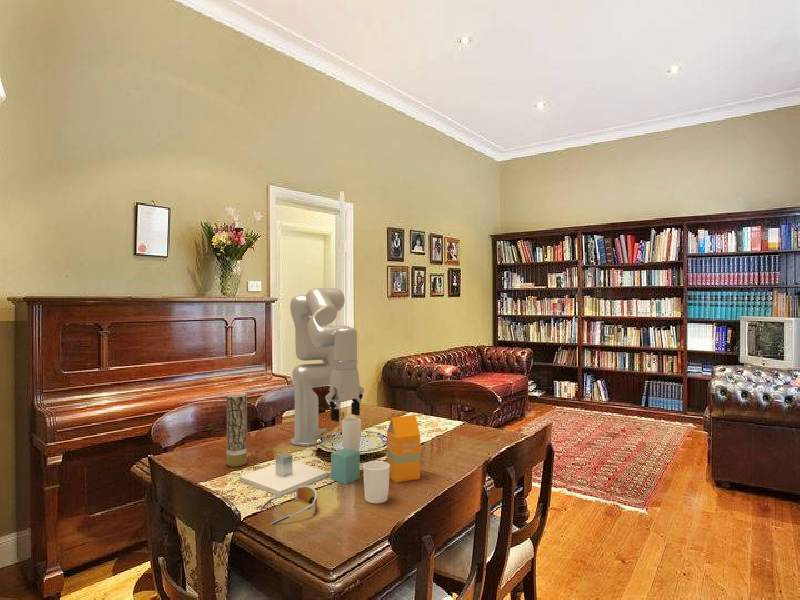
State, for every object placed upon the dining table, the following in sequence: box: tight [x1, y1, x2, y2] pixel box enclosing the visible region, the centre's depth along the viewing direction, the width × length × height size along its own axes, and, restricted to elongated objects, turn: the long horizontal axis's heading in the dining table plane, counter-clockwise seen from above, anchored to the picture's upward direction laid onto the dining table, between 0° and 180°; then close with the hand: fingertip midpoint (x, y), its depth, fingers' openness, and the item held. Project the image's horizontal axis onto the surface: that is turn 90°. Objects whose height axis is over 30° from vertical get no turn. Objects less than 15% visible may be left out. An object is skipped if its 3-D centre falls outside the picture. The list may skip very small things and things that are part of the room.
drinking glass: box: [341, 416, 362, 452], centre depth 178 cm, size 7×7×15 cm
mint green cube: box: [330, 448, 361, 485], centre depth 160 cm, size 7×7×9 cm
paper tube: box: [226, 391, 248, 468], centre depth 174 cm, size 7×7×25 cm
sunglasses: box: [259, 485, 318, 525], centre depth 137 cm, size 14×15×5 cm
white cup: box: [362, 460, 390, 504], centre depth 145 cm, size 8×8×10 cm
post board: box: [238, 460, 329, 496], centre depth 160 cm, size 20×20×2 cm
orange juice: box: [386, 414, 421, 483], centre depth 163 cm, size 8×9×20 cm
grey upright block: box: [275, 452, 293, 477], centre depth 160 cm, size 4×4×6 cm
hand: (345, 417), depth 160 cm, fingers open, 9 cm apart
